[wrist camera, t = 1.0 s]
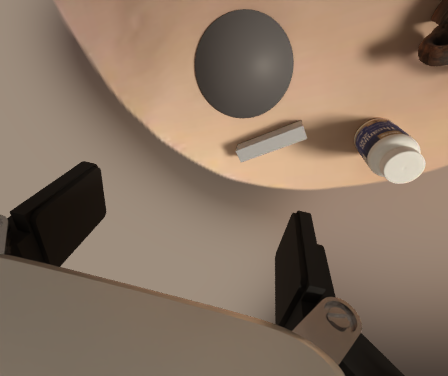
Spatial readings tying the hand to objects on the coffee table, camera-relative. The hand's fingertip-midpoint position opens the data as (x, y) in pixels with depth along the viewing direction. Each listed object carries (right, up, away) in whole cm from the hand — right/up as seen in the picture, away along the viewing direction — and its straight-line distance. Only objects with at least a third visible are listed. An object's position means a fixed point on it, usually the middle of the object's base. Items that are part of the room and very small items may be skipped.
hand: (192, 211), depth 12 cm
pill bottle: (+23, +8, +23) cm, 34 cm away
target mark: (+4, +17, +21) cm, 27 cm away
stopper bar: (+9, +8, +26) cm, 28 cm away
